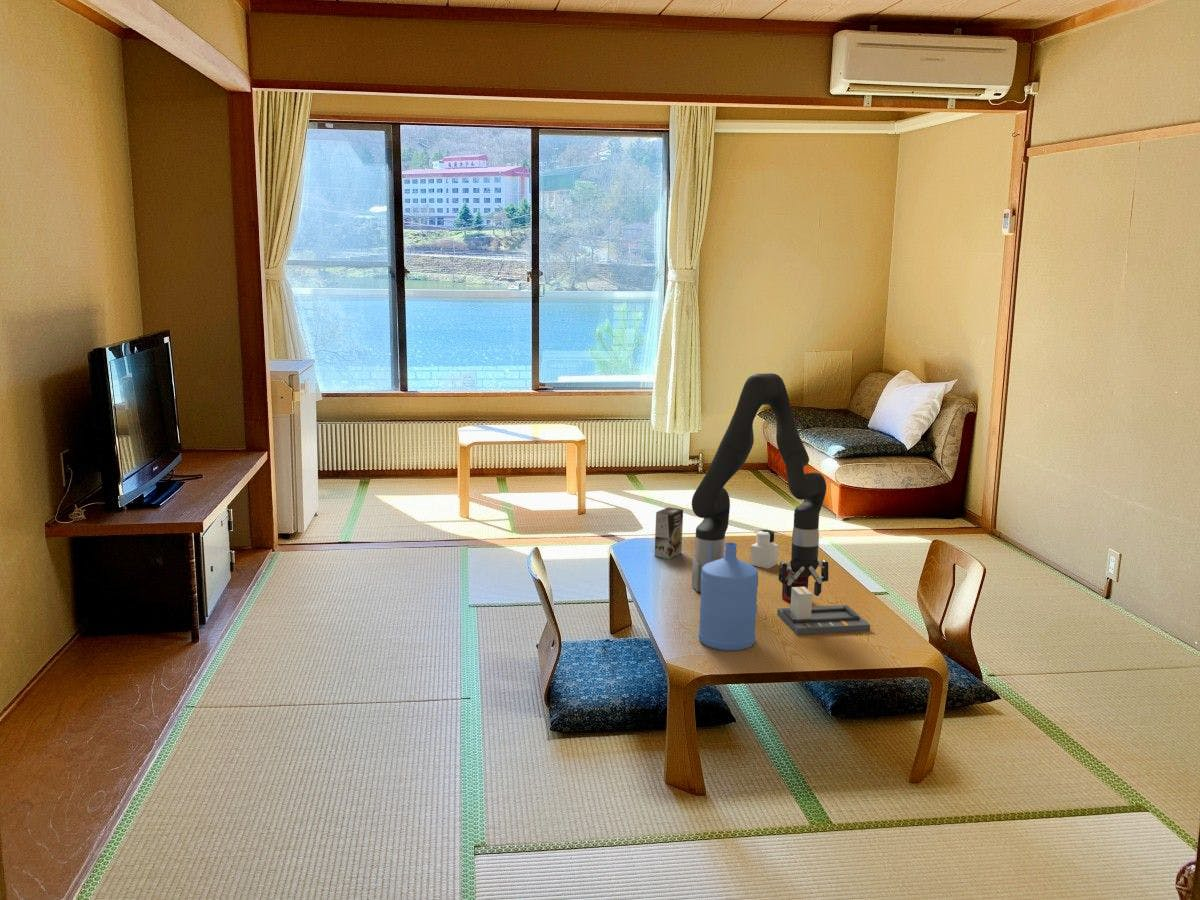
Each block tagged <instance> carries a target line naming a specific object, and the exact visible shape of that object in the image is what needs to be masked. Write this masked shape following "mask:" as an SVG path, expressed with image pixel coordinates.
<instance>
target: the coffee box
mask: <svg viewBox="0 0 1200 900" xmlns="http://www.w3.org/2000/svg"><path fill="white" fill-rule="evenodd" d="M683 522H684V509H683V508H682V509H681V508H677V507H675V508H674V507H669V506H668V507H665V508H664V509H663V508H662V509H660V510H657V511H656V512H655V529H654V530H655V533H654V557H657V556H658V558H662V557H663V558H662V559H666V558H667V559H666V560H671V559H672V557H673V558H675V557H677V556H678V554H679V555H680V553H681V554H682V551H683V550H682V549H683V526H684V525H683ZM676 555H677V556H676ZM674 556H675V557H674ZM670 558H671V559H670Z"/></svg>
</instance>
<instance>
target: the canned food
mask: <svg viewBox="0 0 1200 900" xmlns="http://www.w3.org/2000/svg"><path fill="white" fill-rule="evenodd" d="M786 563H790V561H787V562H786ZM791 570H792V569H791V567H789V568H788V570H787V572H786V577H787V576H788V574H789V572H790V571H791ZM794 574H795V573H794ZM809 579H810V577H807V576H804V577H799V576H798V577H797V579H796V580H794V581H793V582H792V584H791V586H792V587H806V588H807V589H808V590H809ZM781 585H782V587H781V597H782V598H781V599H782V600H783V601H785V602H787V603H790V604H791V597H790V598H788V597H787V596H786V595H785V593H784V591H785V584H782V583H781ZM791 590H792V589H791Z"/></svg>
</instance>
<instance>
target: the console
mask: <svg viewBox="0 0 1200 900" xmlns="http://www.w3.org/2000/svg"><path fill="white" fill-rule="evenodd" d="M776 612H777V613H776V614H777V617H779V619H781V620H782V622H784V623H785V625H786V626H788V628H790V630H791V631H792V632H793V633H794V634H795V635H796V636H807V635H809V636H811V635H824V634H825V635H826V634H827V635H828V634H845V633H861V632H862V633H863V632H864V631H865V632H870V631H871V624H870V623H869V622H868V621H867V620H865V619H864V618H863V617H862V616H861V615H860V614H858V613H857V612H856V611H855V610H854V609H853V608H851V606H849V605H848V604H839V605H837V604H836V605H822V606H821V605H820V606H819V605H817V606H812V610H811V619H799V620H797V619H796V618H795V617H794V616H793V615H792V614H791V613H790V607H780V608H777V611H776Z"/></svg>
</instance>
